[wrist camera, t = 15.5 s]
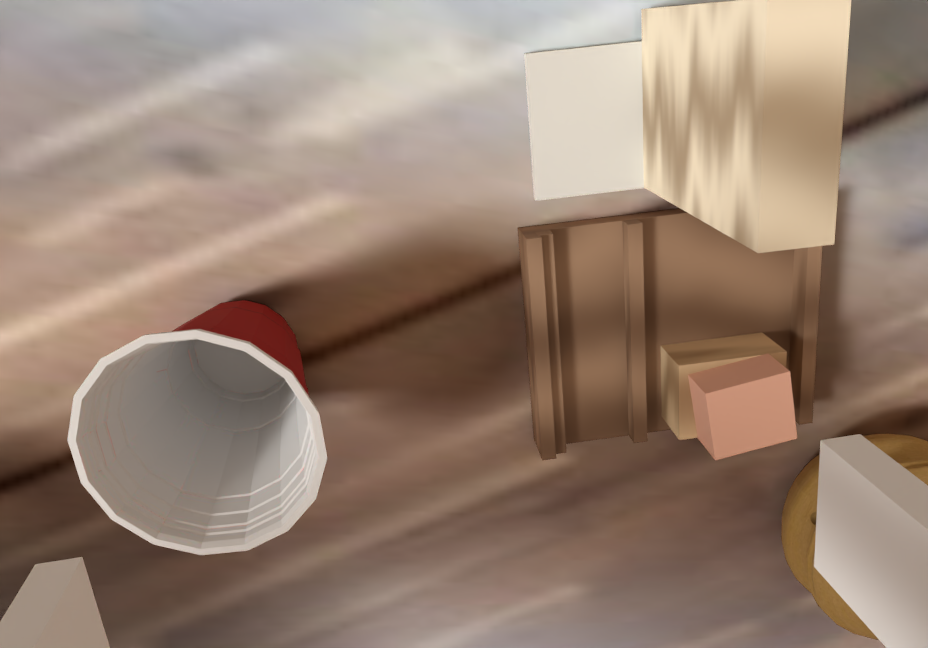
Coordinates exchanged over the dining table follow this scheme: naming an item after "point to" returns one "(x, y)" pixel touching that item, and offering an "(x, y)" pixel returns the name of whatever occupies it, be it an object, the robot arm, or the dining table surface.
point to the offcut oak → (698, 358)
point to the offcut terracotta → (743, 406)
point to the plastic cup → (202, 432)
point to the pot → (801, 525)
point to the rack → (649, 316)
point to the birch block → (747, 115)
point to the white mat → (585, 120)
